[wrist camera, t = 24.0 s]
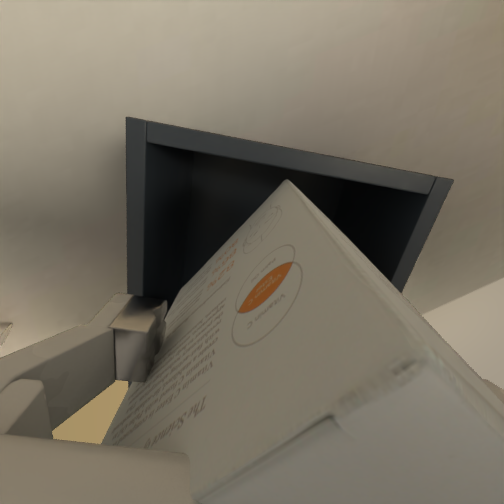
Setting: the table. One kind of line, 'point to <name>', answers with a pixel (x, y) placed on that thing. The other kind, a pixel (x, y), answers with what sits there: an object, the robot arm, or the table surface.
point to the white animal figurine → (4, 335)
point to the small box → (311, 379)
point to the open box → (258, 202)
